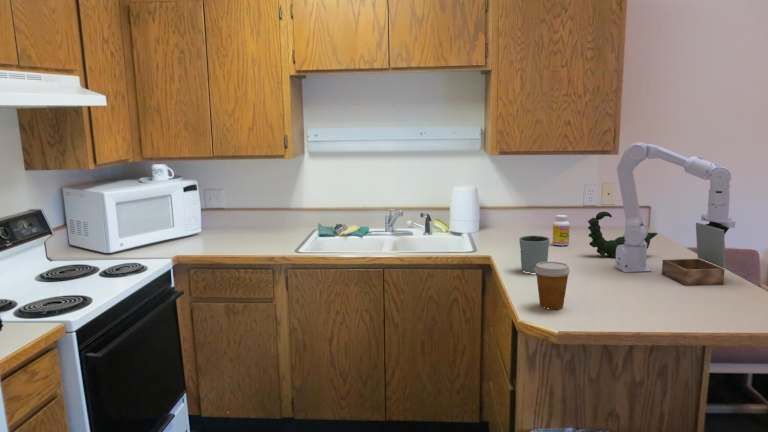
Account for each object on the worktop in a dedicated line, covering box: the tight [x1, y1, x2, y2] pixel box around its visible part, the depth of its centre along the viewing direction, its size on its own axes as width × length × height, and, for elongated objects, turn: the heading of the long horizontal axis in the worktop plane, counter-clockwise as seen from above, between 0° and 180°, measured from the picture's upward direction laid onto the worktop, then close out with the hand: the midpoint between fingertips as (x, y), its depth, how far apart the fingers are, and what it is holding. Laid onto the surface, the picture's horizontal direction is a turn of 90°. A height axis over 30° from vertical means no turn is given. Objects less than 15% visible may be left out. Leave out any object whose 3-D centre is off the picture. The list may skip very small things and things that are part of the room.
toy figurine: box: [587, 211, 658, 259], centre depth 205 cm, size 9×19×25 cm
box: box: [661, 258, 725, 287], centre depth 174 cm, size 12×14×5 cm
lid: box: [695, 222, 726, 269], centre depth 172 cm, size 12×14×1 cm
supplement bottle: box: [552, 214, 571, 246], centre depth 228 cm, size 7×7×13 cm
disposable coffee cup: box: [535, 261, 571, 310], centre depth 151 cm, size 10×10×12 cm
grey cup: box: [519, 235, 550, 273], centre depth 188 cm, size 10×10×12 cm
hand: (715, 245), depth 173 cm, fingers closed, pressing on lid
